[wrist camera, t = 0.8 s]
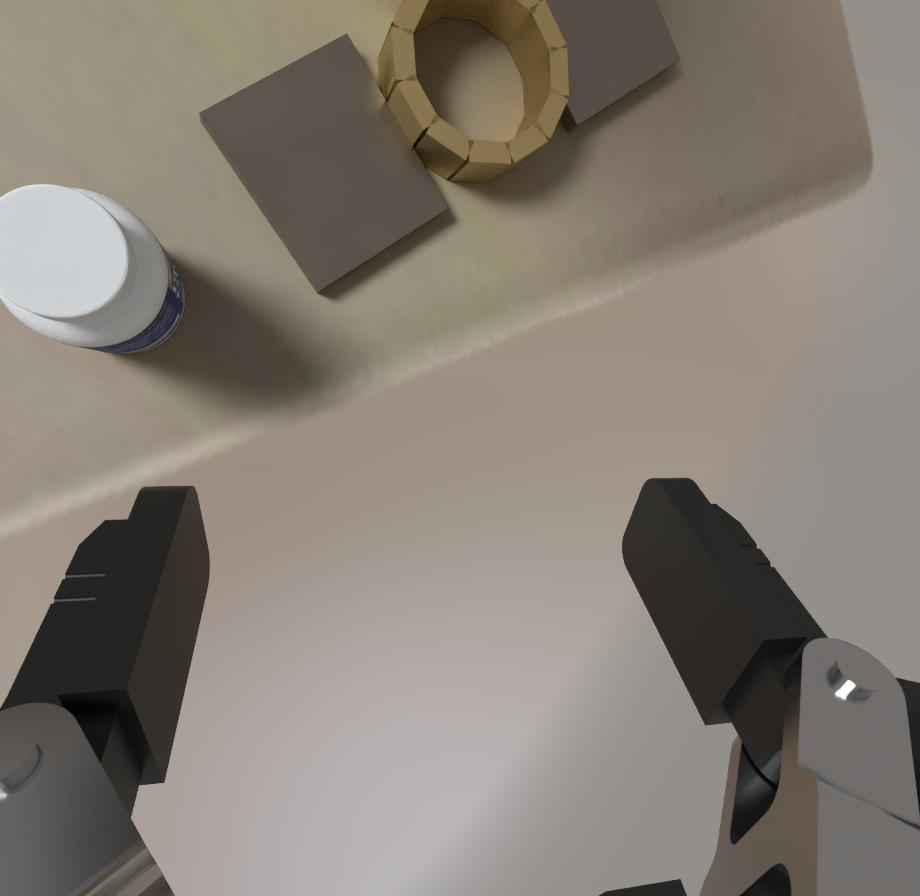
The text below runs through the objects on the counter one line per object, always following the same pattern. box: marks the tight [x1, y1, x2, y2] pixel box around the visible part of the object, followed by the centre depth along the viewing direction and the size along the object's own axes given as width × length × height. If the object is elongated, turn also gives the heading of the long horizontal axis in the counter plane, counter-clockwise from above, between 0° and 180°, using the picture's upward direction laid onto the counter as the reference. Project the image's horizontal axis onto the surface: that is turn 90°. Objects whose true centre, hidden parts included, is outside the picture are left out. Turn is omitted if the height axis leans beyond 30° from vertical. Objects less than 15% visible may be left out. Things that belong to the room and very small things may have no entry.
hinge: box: [199, 0, 680, 293], centre depth 30 cm, size 9×25×3 cm, turn 124°
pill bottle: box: [0, 184, 185, 354], centre depth 22 cm, size 5×5×10 cm
